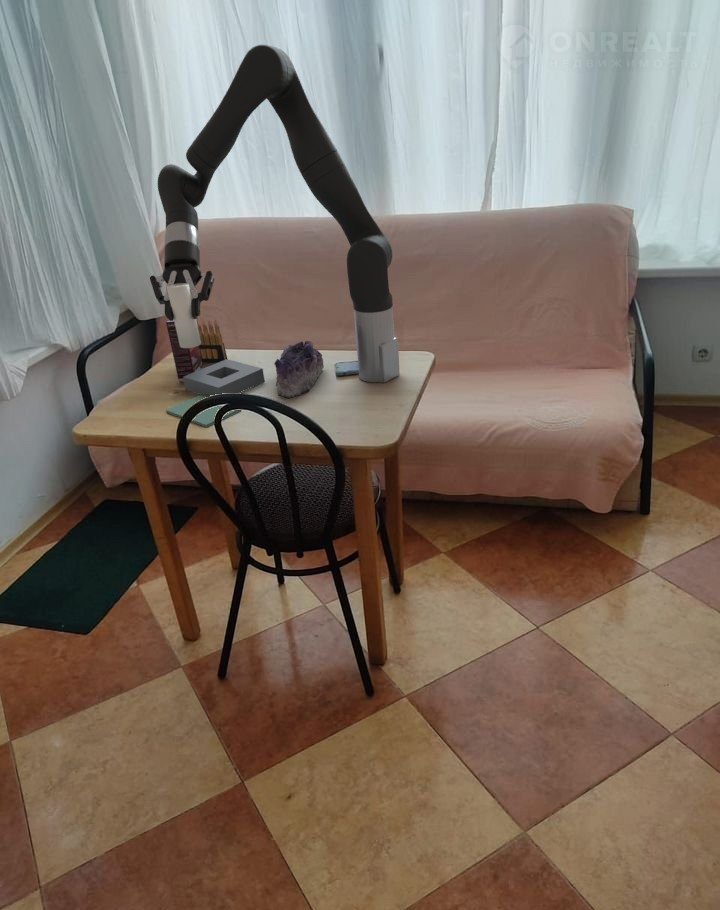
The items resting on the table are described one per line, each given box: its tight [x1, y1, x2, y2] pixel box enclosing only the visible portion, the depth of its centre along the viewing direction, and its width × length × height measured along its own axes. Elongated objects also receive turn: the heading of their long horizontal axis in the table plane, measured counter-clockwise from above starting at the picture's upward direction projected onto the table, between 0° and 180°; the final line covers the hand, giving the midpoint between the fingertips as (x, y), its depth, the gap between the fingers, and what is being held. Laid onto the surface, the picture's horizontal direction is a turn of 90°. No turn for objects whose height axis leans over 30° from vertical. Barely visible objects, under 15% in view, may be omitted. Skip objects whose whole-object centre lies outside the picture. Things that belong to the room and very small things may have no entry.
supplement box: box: [165, 319, 204, 383], centre depth 163 cm, size 9×5×16 cm, turn 179°
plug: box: [166, 283, 201, 348], centre depth 136 cm, size 5×5×13 cm
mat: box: [165, 394, 242, 428], centre depth 145 cm, size 15×10×1 cm, turn 50°
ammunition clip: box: [196, 318, 228, 364], centre depth 173 cm, size 11×2×12 cm, turn 76°
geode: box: [274, 340, 325, 400], centre depth 154 cm, size 20×12×10 cm, turn 173°
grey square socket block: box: [183, 358, 266, 397], centre depth 158 cm, size 14×14×4 cm
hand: (182, 317), depth 135 cm, fingers closed on plug, 4 cm apart
